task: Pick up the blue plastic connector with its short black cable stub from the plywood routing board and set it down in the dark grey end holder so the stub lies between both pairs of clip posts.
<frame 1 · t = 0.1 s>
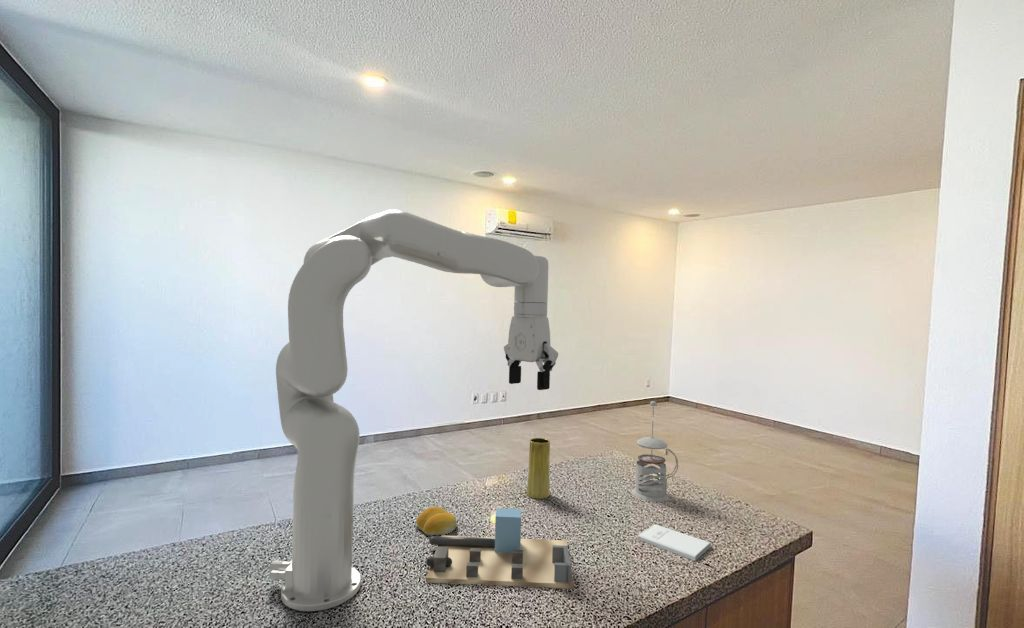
hand: (528, 386, 110), 31 cm above the counter, tool pointing down, fingers open, 9 cm apart
end holder: (547, 575, 89), resting on route board
external hard drive: (673, 546, 103), on the counter
french press: (653, 495, 130), on the counter
route board: (501, 561, 93), on the counter
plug: (507, 547, 97), point 1 cm above the counter, touching route board
bread roll: (436, 529, 107), on the counter
vase: (538, 495, 127), on the counter
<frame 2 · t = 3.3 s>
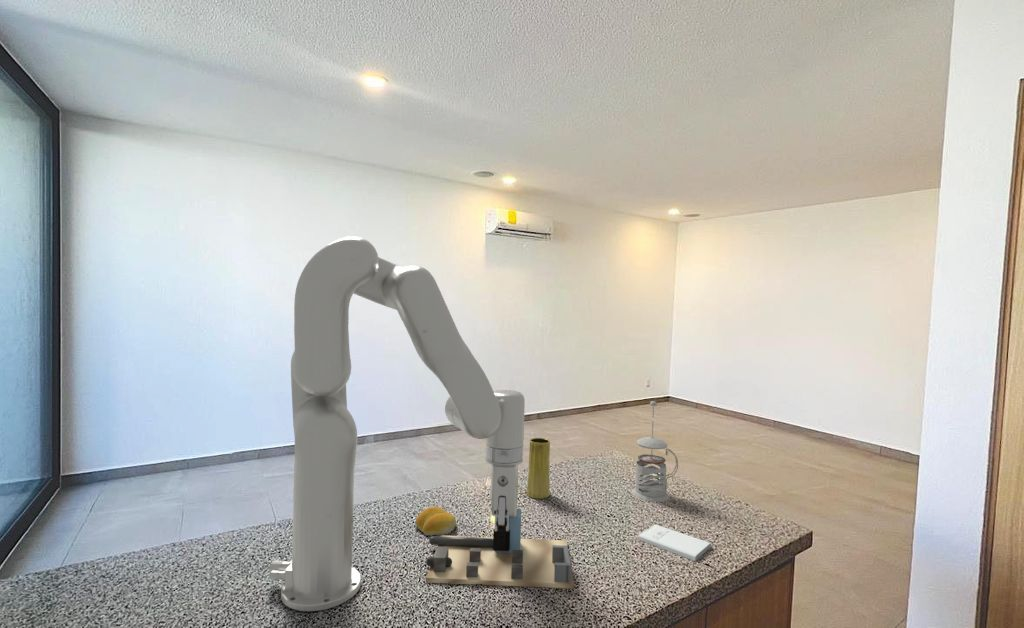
hand: (501, 543, 97), 2 cm above the counter, tool pointing down, fingers closed on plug, 4 cm apart
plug: (507, 547, 97), point 1 cm above the counter, touching gripper, route board
everything else where it was.
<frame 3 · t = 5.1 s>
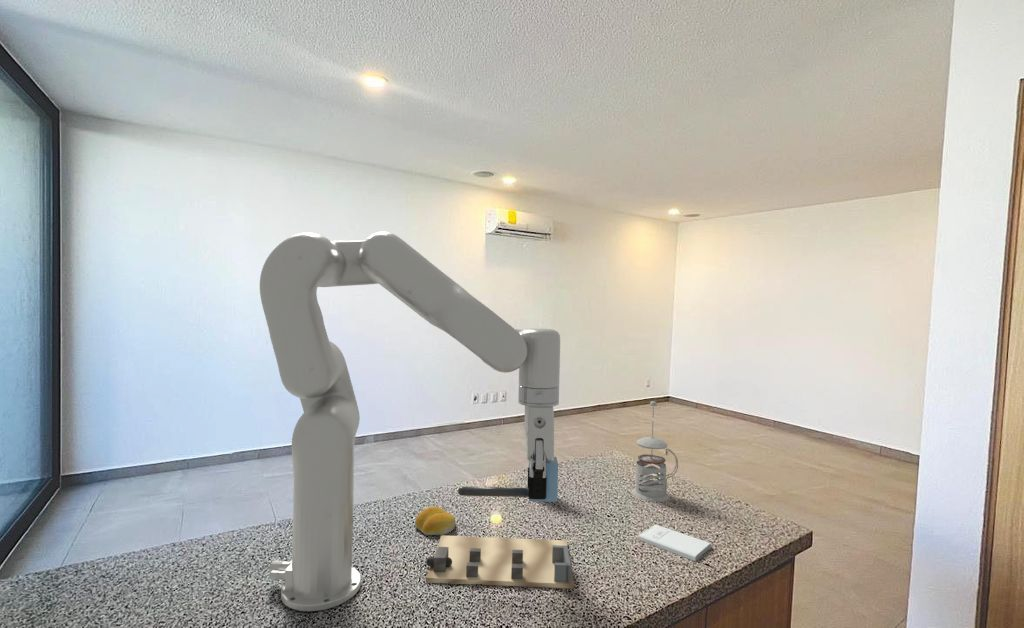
hand: (536, 492, 90), 15 cm above the counter, tool pointing down, fingers closed on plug, 4 cm apart
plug: (542, 497, 90), point 14 cm above the counter, touching gripper
everything else where it was.
when the fingers open (3 cm above the counter, at t = 7.0 s): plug stays where it is, resting on route board.
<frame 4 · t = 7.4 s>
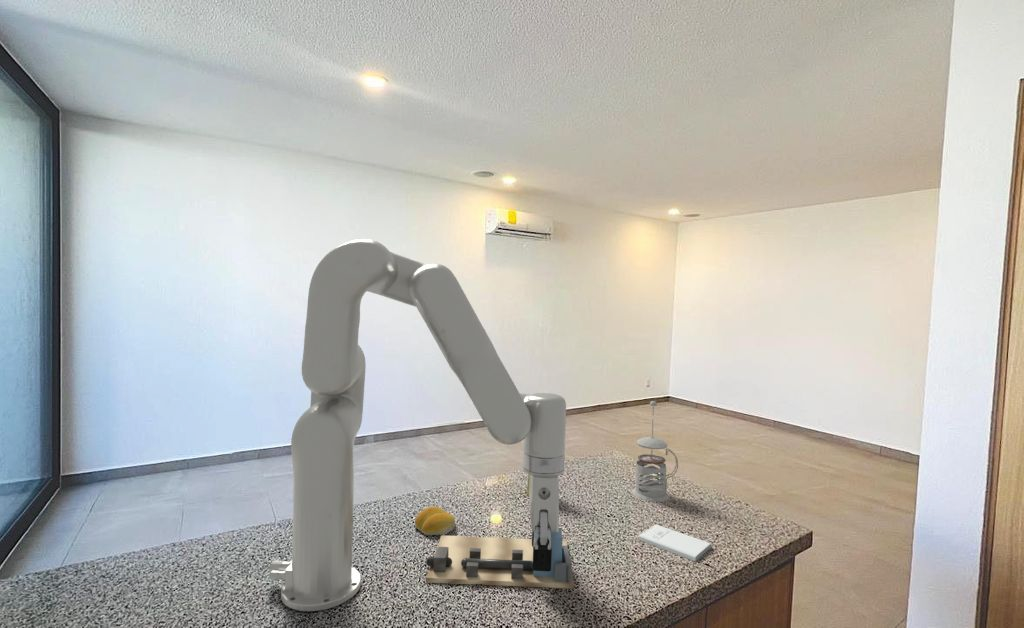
hand: (540, 557, 89), 3 cm above the counter, tool pointing down, fingers open, 7 cm apart
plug: (546, 570, 89), point 1 cm above the counter, touching route board
everything else where it was.
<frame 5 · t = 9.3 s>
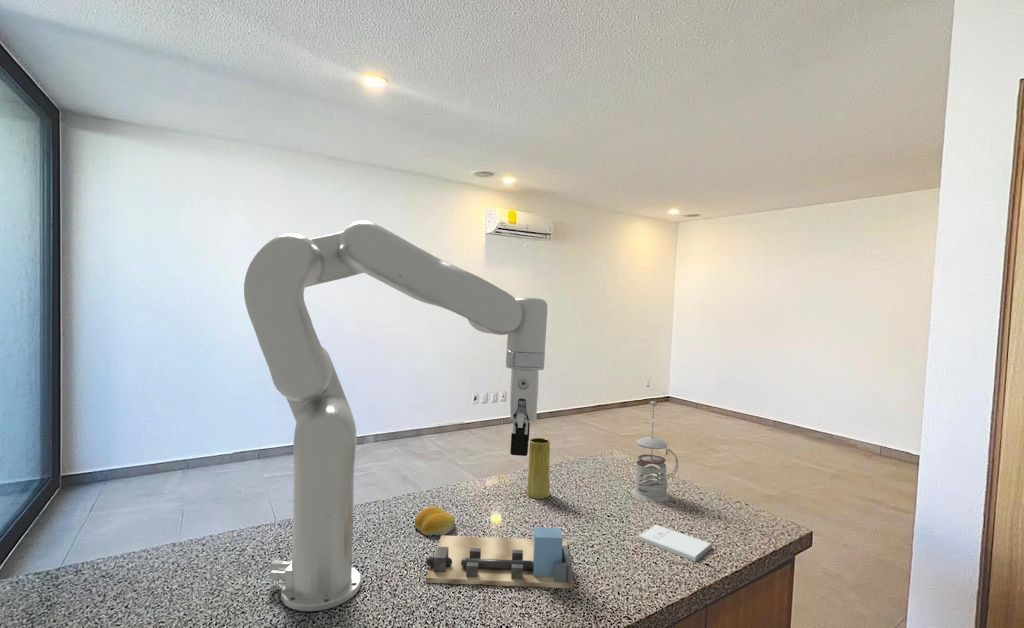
hand: (519, 447, 95), 21 cm above the counter, tool pointing down, fingers open, 9 cm apart
nothing on the counter moved.
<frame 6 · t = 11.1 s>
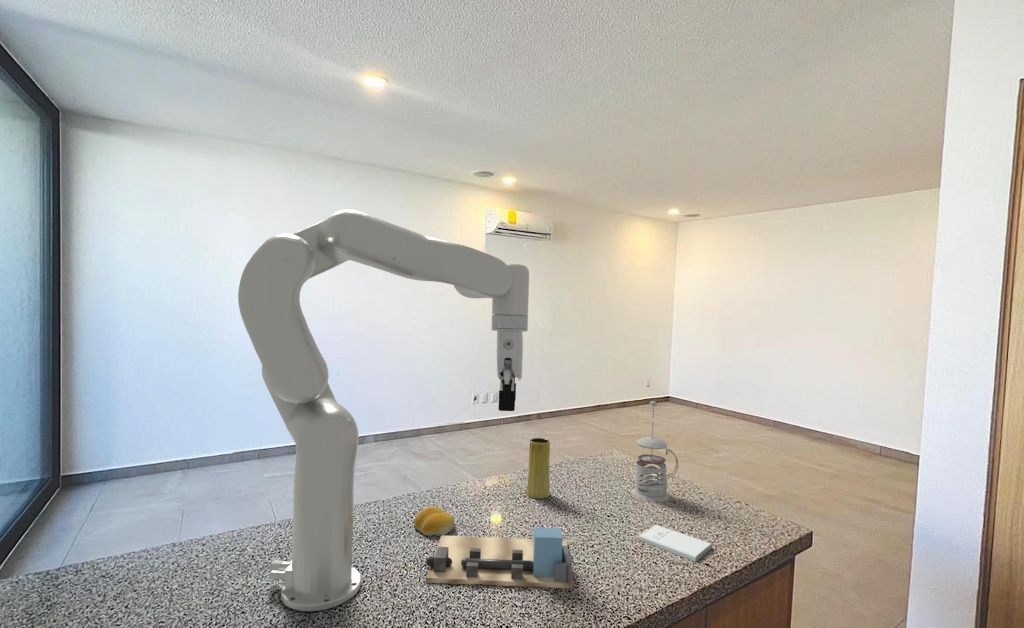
hand: (507, 405, 101), 28 cm above the counter, tool pointing down, fingers open, 9 cm apart
nothing on the counter moved.
at the end: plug 0.5 cm from the target spot, point 0.8 cm above the counter; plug tilted 0°; the gripper is holding nothing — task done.
